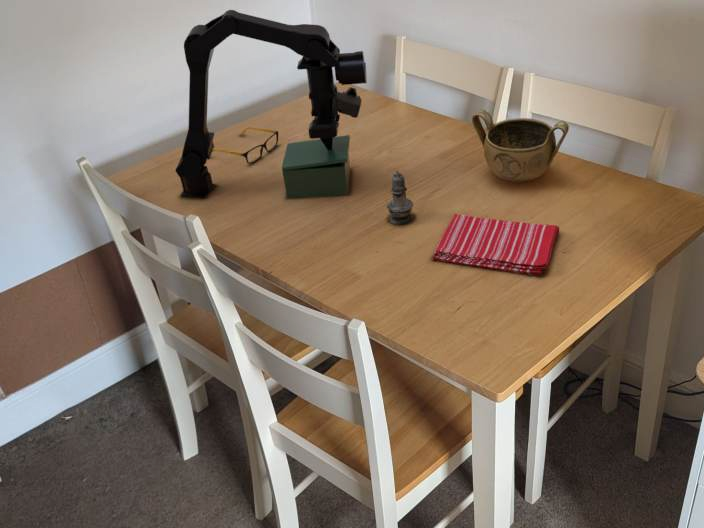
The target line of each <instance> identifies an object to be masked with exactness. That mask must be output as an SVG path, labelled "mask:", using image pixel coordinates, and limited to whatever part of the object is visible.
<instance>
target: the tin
mask: <svg viewBox="0 0 704 528" xmlns="http://www.w3.org/2000/svg"><path fill="white" fill-rule="evenodd" d="M349 154H350V153H349V152H348V161H347V162H344V163H337V164H329V165H322V166H314V167H307V168H299V169H292V170H284V171H282V170H281V171H282V178H283V183H284V189H285V194H286V199H300V198H302V199H303V198H318V197H334V196H348V195H349V189H350V179H351V163H350V162H351V161H350V155H349Z"/></svg>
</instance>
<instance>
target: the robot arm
mask: <svg viewBox="0 0 704 528" xmlns="http://www.w3.org/2000/svg"><path fill="white" fill-rule="evenodd" d="M232 35H237V36H240V37H245V38H249V39H253V40H258V41H262V42H265V43H270V44H273V45H278V46H283V47H286V48H288V49H290V50H291V51H293V52H294V53H296V54H297V55H299V56H301V57H302V58H300V60H298V63H297V67H296V69H297V70H306V75H307V83H308V91H309V93H308V100H310V104H311V110H310V114H311V117H313V120H311V122H310V123H309V125H308V137H309V139H310V140H316V139H321V141H322V142H323V144H324V145H325V147H326V148H327V150H332V144H333V137H338V132H339V125H340V122H339V121H340V117H341V115H340V114H343V115H347V116H349V117H351V118H353V119H354V118H356V119H357V118H358V117H359V113H360V110H361V106H362V98H361V96H360V95H358V92H357V88H356V87H351V86H350V87H348V89H347V90H345V91H343V92H341V91H338V86H337V85H336V84H335V81H337V82H338V84H340V85H341V86H346V85H361V84H367V83H368V80H367V79H368V78H367V77H368V75H367V74H368V73H367V63H366V62H365V56H364V51H362V50H360V51H359V50H358V51H354V52H343V53H341V49H340V48H339V47H338V45H336V43H334V41H333V40H332V39H331V37H330V33H329V32H328V30H327V28H326V27H324V26H322V25H319V24H309V23H302V24H287V23H283V22H279V21H275V20H272V19H268V18H262V17H259V16H254V15H250V14H247V13H243V12H238V11H236V10H234V9H228V10H226V11H225V12H224V13H223V14H221V15H219V16H217V17H215V18H213V19H211V20H210V21H208V22H207V23H206V24H197V25H194V26H193V27H192V28H191V30H190V31H189V33H188V34H187V36H186V38H185V39H184V42H183V50H184V56H185V62H186V65H187V67H188V71H189V84H188V85H189V89H188V90H189V91H188V92H189V93H188V128H187V129H188V130H187V134H186V137H185V140H184V144H183V148H182V152H181V157H180V159H179V162H178V163H177V165H176V168H175V173H176V174H177V176H178V177H179V178H180V182H181V187H182V190H183V191H182V192H181V193H180V197H183V198H184V197H185V198H197V199H205V198H207V196H208V195H209V194H210V193H211V191H213V190H214V188H215V187H216V183H214V182H213V179H212V174H211V172H209V169H208V166H207V165H206V164H207V162H208V160H210V158H211V156H212V153H213V152H214V151H213V149H215V145H214V137H215V131H214V132H212V131H210V132H209V129H208V100H209V74H210V73H209V71H210V70H209V69H210V65H211V62H212V60H213V59H212V57H213V55H214V51H215V48H216V47H217V46H219V45H220V44H221V43H222V42H224V41H225V40H227V38H229V37H230V36H232ZM333 68H334V71H333ZM334 75H335V79H334ZM212 151H213V152H212Z"/></svg>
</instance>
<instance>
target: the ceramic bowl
mask: <svg viewBox="0 0 704 528" xmlns="http://www.w3.org/2000/svg"><path fill="white" fill-rule="evenodd" d="M480 119H482V120H483V121H484V123H485V126H486V131H485V129H484V126H483V124H482V122H481V120H480ZM471 123H472V125H473V128H474V130H475V132H476V134H477V137H478V138H479V141H480V142H481V144H482V148H483V154H484V159H485V162H486V165H487V167H488V168H489V170H490V172H491V173H492V174H494V175H495V176H496V177H498V178H499V179H501V180H504V181H506V182H510V183H511V182H512V183H525V182H529V181H532V180H535V179H537V178H539V177H540V176H542V175H543V174H544V173H545V172H547V170H548V168H550V167H551V164H552V163H553V161H554V158H555V157H556V155H557V154H558V152H559V149H560V147H561V145H562V144H563V142H564V140H565V138H566V136H567V134H568V133H569V129H570V127H569V124H568V123H567V122H566V121H564V120H560V121H557V122H556V123H555V124H554V125H553V127H552V126H551V125H550V124H549V123H547V122H545V121H543V120H539V119H535V118H530V117H528V118H527V117H516V118H508V119H505V120H501V121H497V122H496V123H494V119H493V117H492V115H491V114H490V113H489V111H488V110H486V109H483V108H480V109H477V110H476V112H475V113H474V114H473V115H472V119H471ZM556 130H560V131H562V136H560V138H559V140H558V142H557V140H556V139H557V138H556V135H555V131H556Z"/></svg>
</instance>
